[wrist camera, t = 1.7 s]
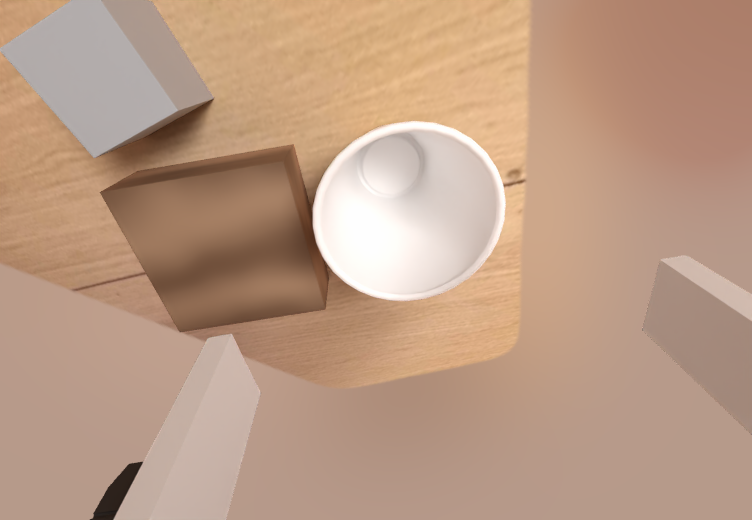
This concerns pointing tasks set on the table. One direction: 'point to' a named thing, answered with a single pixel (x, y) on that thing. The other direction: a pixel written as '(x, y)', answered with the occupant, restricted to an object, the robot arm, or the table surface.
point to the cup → (408, 211)
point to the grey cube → (108, 71)
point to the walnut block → (224, 237)
